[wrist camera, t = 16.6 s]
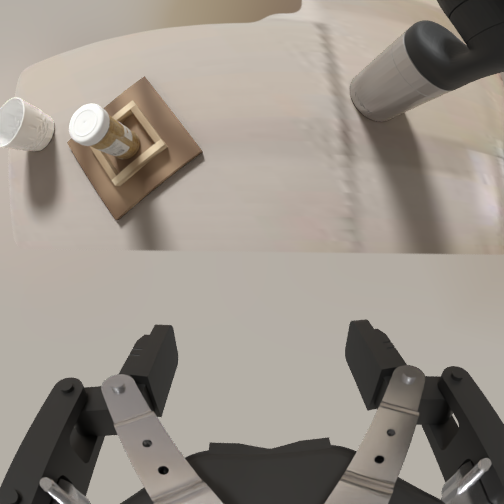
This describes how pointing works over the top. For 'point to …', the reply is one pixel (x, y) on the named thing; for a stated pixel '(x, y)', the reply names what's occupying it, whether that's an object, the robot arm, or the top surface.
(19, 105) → the white cup
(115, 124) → the sprinkles bottle
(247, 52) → the top surface
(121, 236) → the top surface
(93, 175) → the holder board
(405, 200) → the top surface
